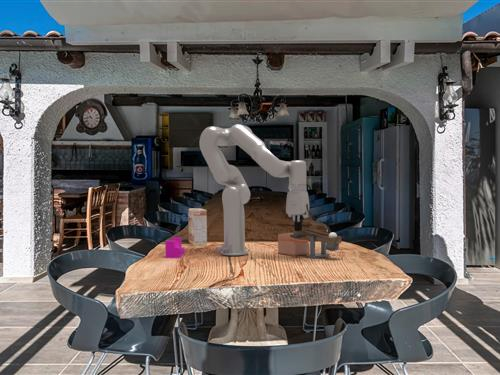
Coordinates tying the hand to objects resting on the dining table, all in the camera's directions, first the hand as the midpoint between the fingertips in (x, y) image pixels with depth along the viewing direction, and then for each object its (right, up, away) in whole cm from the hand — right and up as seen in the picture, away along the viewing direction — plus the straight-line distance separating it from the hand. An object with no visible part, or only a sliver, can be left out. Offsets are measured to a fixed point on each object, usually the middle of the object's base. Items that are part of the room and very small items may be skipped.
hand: (298, 230), depth 206 cm
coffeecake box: (-48, -12, +38) cm, 62 cm away
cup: (-1, -12, +10) cm, 16 cm away
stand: (+9, -12, 0) cm, 15 cm away
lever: (+6, -7, -2) cm, 9 cm away
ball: (+14, -2, -5) cm, 15 cm away
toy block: (-55, -12, +9) cm, 57 cm away
